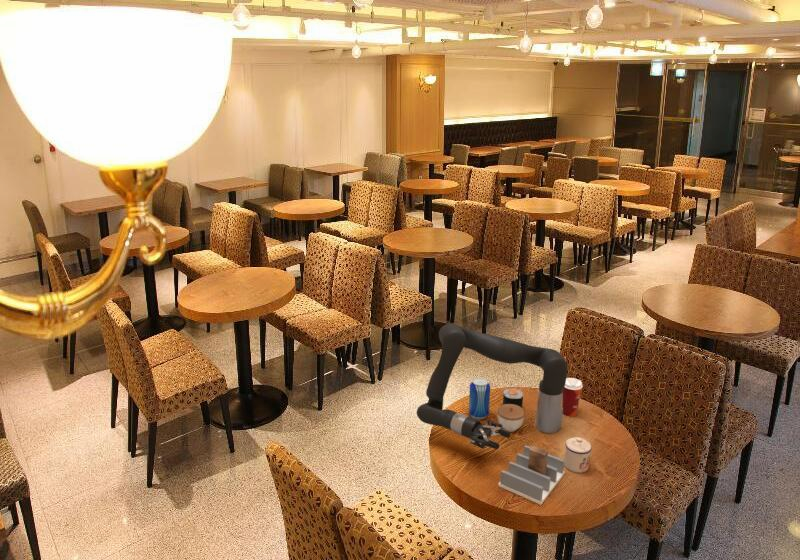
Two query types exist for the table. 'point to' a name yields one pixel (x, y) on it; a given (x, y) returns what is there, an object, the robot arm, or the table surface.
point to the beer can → (479, 398)
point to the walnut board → (538, 460)
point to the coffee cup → (571, 396)
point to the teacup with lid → (577, 454)
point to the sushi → (513, 397)
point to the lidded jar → (510, 417)
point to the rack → (532, 477)
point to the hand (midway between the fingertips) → (504, 441)
